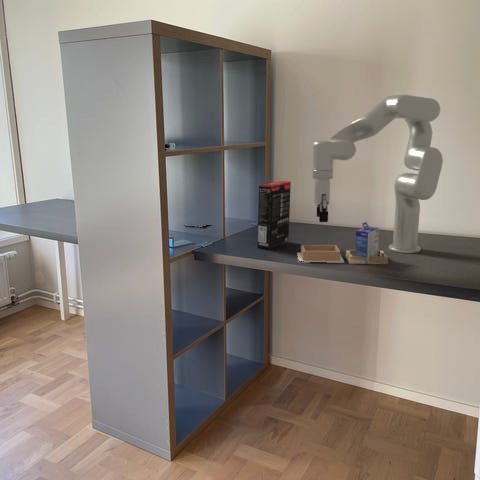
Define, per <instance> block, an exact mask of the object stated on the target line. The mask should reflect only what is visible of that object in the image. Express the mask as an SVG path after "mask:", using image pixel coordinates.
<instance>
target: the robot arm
mask: <svg viewBox="0 0 480 480" xmlns="http://www.w3.org/2000/svg"><path fill="white" fill-rule="evenodd" d="M440 112H441V106H440V104H439V102H438V101H437V100H436V99H435V98H430V97H424V96H423V97H422V96H417V95H409V94H396V95H394V94H392V95H389V96H388V95H387V96H386V97H384V98H383V99H381V101H379V102H378V103H377V104H376V105H375V106H373V107H372V108H371V109H370V110H368V112H366V113H365V114H364V115H363V116H361V117H360V118H358V119H356V120H355V121H353V122H351V123H350V124H347V125H346V126H344V127H342V128H341V129H339V130H338V131H337V132H336V133H334V134H333V135H332V136H331V137H329V138H328V140H317V141H314V142H313V144H312V179H313V180H314V196H313V198H314V199H313V202H314V203H315V206H316V217H318V220H319V223H328V222H329V209H328V208H329V207H328V206H329V205H330V193H331V186H330V185H331V180H332V179H333V178H334V160H335V161H336V160H339V161H348V160H351V159H352V158H353V157H354V156H355V155H356V152H357V147H356V144H355V143H356V142H358V141H361V140H365V139H369V138H371V137H374V136H376V135H378V134H379V133H380V132H381V131H382V130H383V129H384V128H385V127H387V126H388V125H389V124H391V123H392V122H393V121H394V120H396V119H404V120H405V123H406V124H407V126H408V129H409V130H408V131H409V137H408V141H407V146H406V151H405V155H404V158H403V159H404V160H403V164H404V166H405V167H406V168H407V169H408V170H413V171H418V173H414V172H404V173H401V174H400V175H398V176H397V177H396V179H395V181H394V186H393V187H394V196H395V197H394V198H395V207H394V208H395V210H394V211H395V212H394V221H393V222H394V223H393V237H392V238H393V239H392V243H390V244H389V245H388V250H390V251H392V252H396V253H400V254H401V253H402V254H415V253H416V254H417V253H419V252H421V249H422V247H420V246H419V245H418V238H419V237H418V236H419V225H420V224H419V223H420V212H421V204H420V201H427V200H429V199H431V198H433V196H434V195H435V193H436V190H437V187H438V183H439V179H440V176H441V172H442V167H443V161H444V160H443V155H442V154H443V153H442V152H441V151H440V150H439V149H438V148H437V147H433V146H431V144H432V139H433V128H432V125H431V122H433V121H434V120H436V119H437V118H438V117H439V115H440Z"/></svg>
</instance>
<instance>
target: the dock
mask: <svg viewBox="0 0 480 480" xmlns="http://www.w3.org/2000/svg"><path fill="white" fill-rule="evenodd" d="M296 256H298V257H297V261H298V260H299V261H302V262H301V263H310V262H327V263H329V264H332V263H333V264H334V263H336V264H345V261H344V259H343V257H342V255H341V251H340V248H339V247H338V245H337V244H301V245H300V252H296ZM299 261H298V262H299ZM303 261H304V262H303Z"/></svg>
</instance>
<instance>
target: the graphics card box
mask: <svg viewBox="0 0 480 480" xmlns="http://www.w3.org/2000/svg"><path fill="white" fill-rule="evenodd" d="M291 185H292V183H291V181H288V180H287V181H286V180H280V181H274V182H271V183H270V182H269V183H265V184H259V185H258V206H257V207H258V210H257V211H258V213H257V243H256V245H257V248H259V249H264V250H273V249H275V248H278V247H280V246H282V244H283V245H284V244H288V243H289V240H290V239H289V236H290V235H289V233H290V232H289V231H290V213H291V212H290V210H291V204H290V203H291V188H292V187H291ZM277 246H278V247H277Z"/></svg>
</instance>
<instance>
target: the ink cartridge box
mask: <svg viewBox="0 0 480 480" xmlns="http://www.w3.org/2000/svg"><path fill="white" fill-rule="evenodd" d="M361 224H362V226H363V227H362V228H360V229H357V230H355V250H356V255H355V256H362V257H365V263H366V264H367V263H369V262H368V260H369V257H370V256H378V250H379V234H380V233H379V231H380V229H379V227H376V226H375V227H374V226H369V225H368V222H367V221H365V222H363V223H361ZM367 265H368V264H367Z"/></svg>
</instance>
